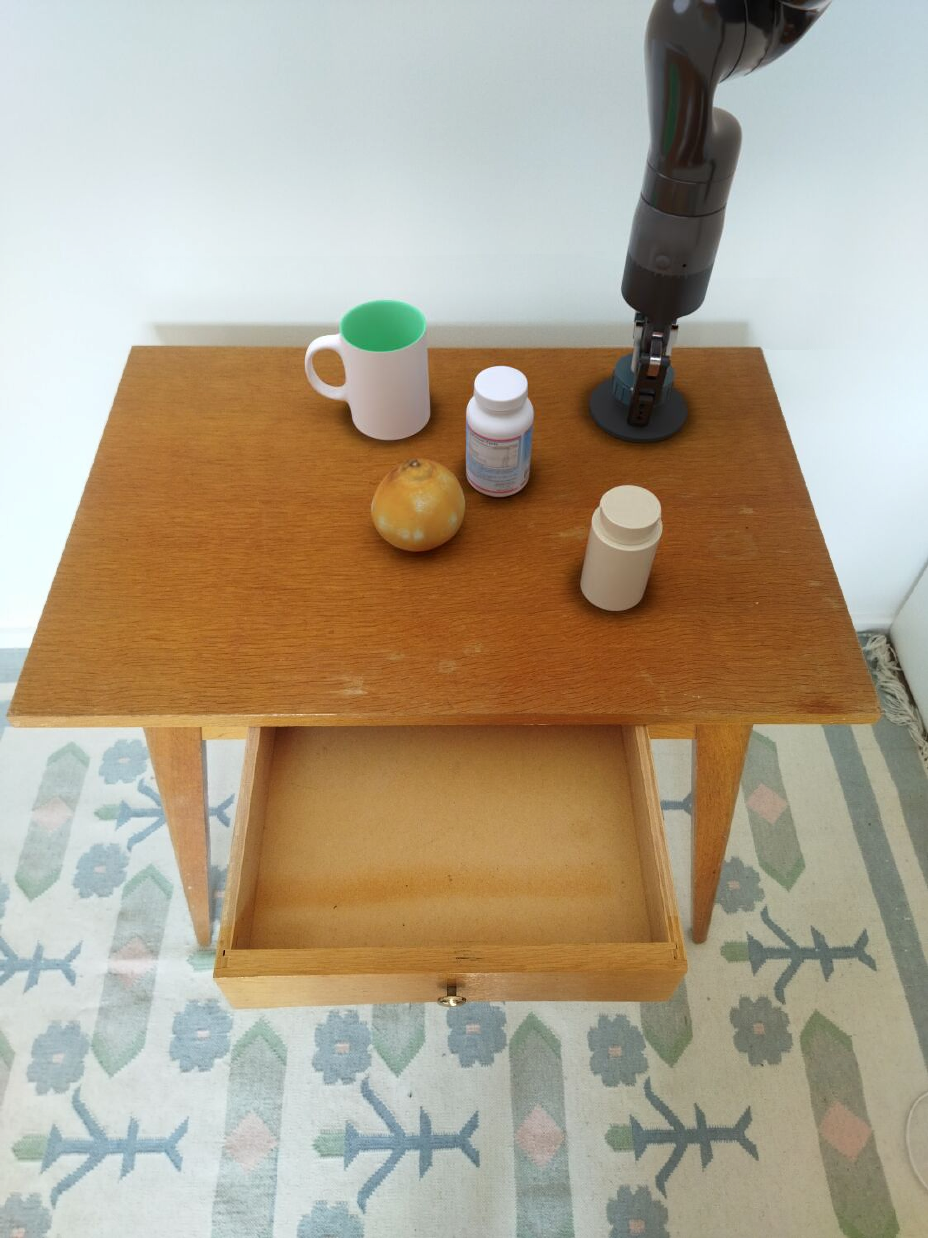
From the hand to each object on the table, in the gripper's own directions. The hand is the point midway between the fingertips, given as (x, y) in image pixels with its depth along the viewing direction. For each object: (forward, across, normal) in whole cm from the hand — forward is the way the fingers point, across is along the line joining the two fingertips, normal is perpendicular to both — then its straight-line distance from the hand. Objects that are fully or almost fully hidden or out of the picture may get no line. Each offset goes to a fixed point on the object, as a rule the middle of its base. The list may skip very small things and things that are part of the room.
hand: (638, 402), depth 84 cm
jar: (+1, -24, +1) cm, 24 cm away
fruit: (+1, -20, +19) cm, 28 cm away
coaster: (+1, 0, 0) cm, 1 cm away
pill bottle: (+1, -12, +13) cm, 18 cm away
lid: (-4, 0, 0) cm, 4 cm away
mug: (+1, -5, +27) cm, 27 cm away
